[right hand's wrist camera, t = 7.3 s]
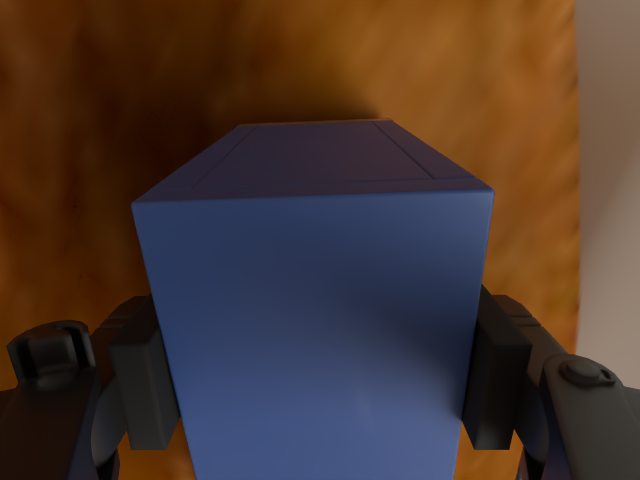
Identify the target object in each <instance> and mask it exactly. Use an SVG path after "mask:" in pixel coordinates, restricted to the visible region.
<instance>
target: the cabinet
mask: <svg viewBox="0 0 640 480" xmlns="http://www.w3.org/2000/svg"><path fill="white" fill-rule="evenodd" d="M494 193H495V192H494V189H493V188H492V187H490V186H489V185H487V184H486V183H484V182H483V181H481V180H480V179H478V178H476V177H475V176H474V175H472V174H471V173H469V172H468V171H466V170H465V169H463V168H462V167H460V166H459V165H457V164H456V163H454V162H453V161H451V160H450V159H448V158H447V157H445V156H444V155H442V154H441V153H439V152H438V151H436V150H435V149H433V148H432V147H430V146H429V145H427V144H426V143H424V142H423V141H421V140H420V139H418V138H417V137H415V136H414V135H412V134H411V133H409V132H408V131H406V130H405V129H403V128H402V127H400V126H399V125H397V124H396V123H394V122H393V120H392V119H390V118H375V119H350V120H324V121H299V122H274V123H248V124H239V125H237V126H236V128H234V129H233V130H232V131H230V132H229V133H227V134H226V135H225V136H223V137H222V138H220V139H219V140H218V141H216V142H215V143H214V144H212V145H211V146H209V147H208V148H207V149H205V150H204V151H202V152H201V153H200V154H198V155H197V156H195V157H194V158H193V159H191V160H190V161H188V162H187V163H186V164H184V165H183V166H182V167H180V168H179V169H177V170H176V171H175V172H173V173H172V174H170V175H169V176H168V177H166V178H165V179H163V180H162V181H161V182H159V183H158V184H157V185H155V186H154V187H152V188H151V189H150V190H149V191H147V192H146V193H145V194H143V195H142V196H140V197H139V198H138V199H136V200H135V201H134V202H132V203H131V209H132V213H133V217H134V221H135V226H136V230H137V234H138V238H139V242H140V246H141V251H142V255H143V259H144V263H145V267H146V272H147V276H148V280H149V284H150V288H151V293H152V297H153V301H154V305H155V309H156V313H157V318H158V322H159V326H160V330H161V334H162V339H163V343H164V347H165V351H166V355H167V359H168V364H169V368H170V372H171V376H172V380H173V385H174V389H175V393H176V397H177V401H178V405H179V410H180V414H181V418H182V422H183V426H184V431H185V435H186V439H187V443H188V447H189V451H190V456H191V460H192V464H193V468H194V472H195V477H196V480H453V478H454V471H455V464H456V457H457V450H458V443H459V436H460V429H461V422H462V415H463V408H464V401H465V394H466V388H467V381H468V374H469V367H470V360H471V353H472V346H473V339H474V332H475V325H476V318H477V311H478V304H479V297H480V290H481V284H482V277H483V270H484V263H485V256H486V249H487V242H488V235H489V228H490V221H491V214H492V207H493V200H494Z"/></svg>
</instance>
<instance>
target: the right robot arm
mask: <svg viewBox="0 0 640 480" xmlns="http://www.w3.org/2000/svg"><path fill="white" fill-rule="evenodd" d="M6 347H7V350H8V353H9V356H10V359H11V362H12V365H13V368H14V371H15V374H16V377H17V380H18V385H17V387H16V388H14V389H10V390H5V391H0V480H118V476H119V468H120V460H119V454H118V450H117V446H118V444H119V443H120V441H121V439H122V437H123V436H124V434H125V432H126V430H127V433H128V438H129V442H130V446H131V450H166V448H167V446H168V444H169V441H170V439H171V437H172V434H173V432H174V430H175V427H176V425H177V423H178V420H179V418H180V416H181V414H180V410H179V405H178V401H177V397H176V393H175V389H174V385H173V380H172V376H171V372H170V368H169V364H168V359H167V355H166V351H165V347H164V343H163V339H162V334H161V330H160V326H159V322H158V318H157V313H156V309H155V305H154V301H153V297H152V293H150V294H149V296H135V297H133V298H131V299H129V300H128V301H126V302H124V303H122V304H121V305H119V306H118V307H117V308H116V309H115V310H114V311H113V312H112V313H111V314H110V316H109V318H108V319H106V320H105V321H104V322H103V323H102V324H101V325H100V328H97V329H96V330H95V332H94V333H93V334H92V335H91V336H90V335H89V331H88V327H87V325H85V324H84V323H82V322H80V321H74V320H64V321H55V322H51V323H47V324H43V325H40V326H37V327H35V328H32V329H30V330H27V331H25V332H24V333H22V334H20V335H19V336H17V337H15V338H14V339H13V340H12V341H11V342H10V343H9V344H8V345H7V346H6ZM462 422H463V424H464V427H465V429H466V431H467V434H468V436H469V438H470V441H471V443H472V445H473V448H474V450H509V448H510V444H511V439H512V435H513V430H514V429H515V431H516V433H517V435H518V436H519V438H520V440H521V442H522V443H523V445H524V446H523V450H522V454H521V458H520V462H519V467H518V471H517V475H516V479H515V480H640V390H639V389H634V388H629V387H625V386H623V384H622V382H621V381H620V380H619V378H618V377H617V376H616V375H615V374H614V373H613V372H612V371H610V370H609V369H607V368H606V367H605V366H603V365H601V364H599V363H597V362H595V361H593V360H590V359H588V358H585V357H581V356H577V355H574V354H568V353H567V352H566V350H565V349H564V348H563V347H562V346H561V345H560V344H559V343H558V342H557V341H556V340H555V339H554V338H553V337H552V336H551V335H550V334H549V332H548V331H547V330H546V329H545V328H544V327H541V324H540V323H539V322H538V321H537V320H536V319H535V318H534V317H532V315H531V313H530V312H529V311H528V310H527V309H526V308H525V307H524V306H523V305H522V304H520V303H519V302H517V301H515V300H513V299H512V298H510V297H508V296H507V295H491V294H490V293H489V292H488V290H487V289H486V288H485V287H484V286H483V285H482V284H481V290H480V297H479V304H478V311H477V318H476V325H475V332H474V339H473V346H472V353H471V360H470V367H469V374H468V381H467V388H466V394H465V401H464V408H463V415H462Z"/></svg>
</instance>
